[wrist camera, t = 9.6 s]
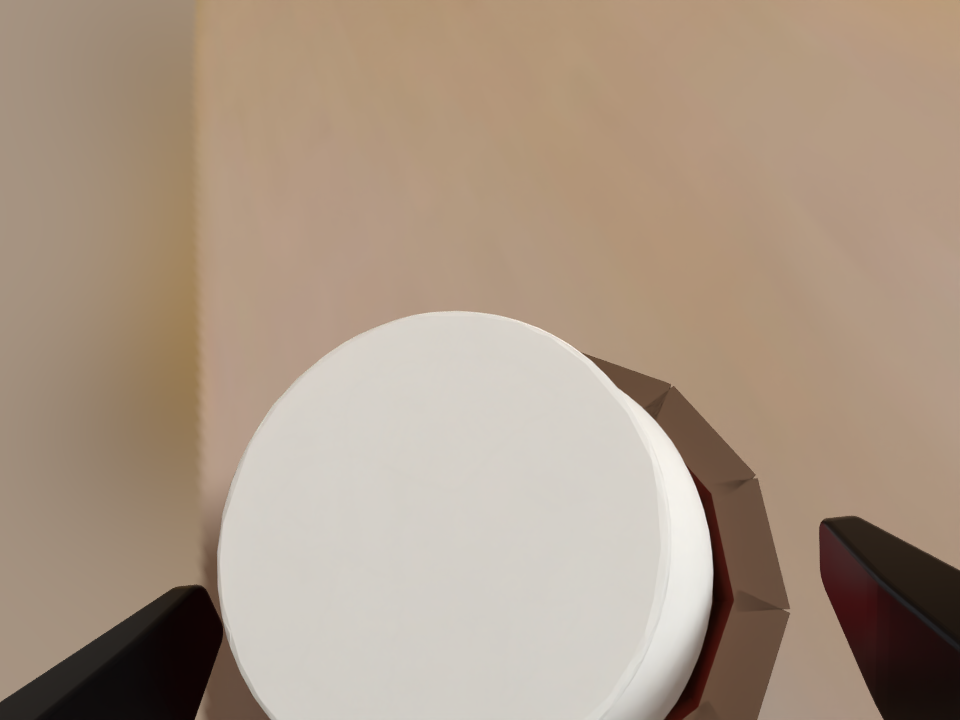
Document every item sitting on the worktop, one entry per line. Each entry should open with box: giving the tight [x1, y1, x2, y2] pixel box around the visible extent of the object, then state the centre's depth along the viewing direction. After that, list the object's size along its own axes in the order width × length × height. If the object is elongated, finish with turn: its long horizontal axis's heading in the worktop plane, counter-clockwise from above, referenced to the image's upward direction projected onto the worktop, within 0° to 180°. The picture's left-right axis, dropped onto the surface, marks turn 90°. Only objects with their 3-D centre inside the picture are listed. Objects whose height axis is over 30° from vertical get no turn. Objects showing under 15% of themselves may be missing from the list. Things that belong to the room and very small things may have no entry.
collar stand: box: [580, 352, 790, 720], centre depth 15 cm, size 11×11×4 cm
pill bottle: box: [217, 311, 713, 720], centre depth 11 cm, size 6×6×11 cm
